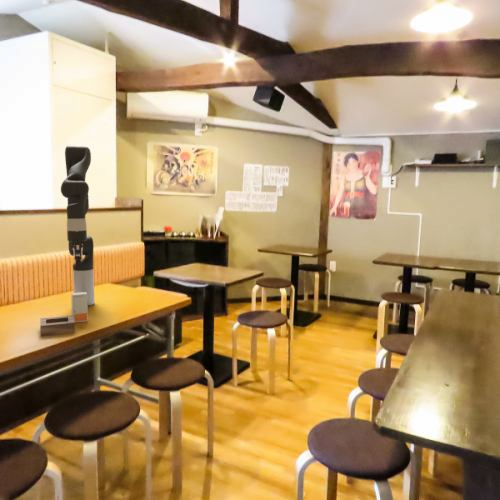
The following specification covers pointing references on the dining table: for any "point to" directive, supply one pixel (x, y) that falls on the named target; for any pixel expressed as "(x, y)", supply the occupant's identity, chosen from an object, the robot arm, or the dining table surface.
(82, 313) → the skincare box
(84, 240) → the robot arm
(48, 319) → the grey slotted box
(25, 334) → the dining table surface
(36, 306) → the dining table surface
